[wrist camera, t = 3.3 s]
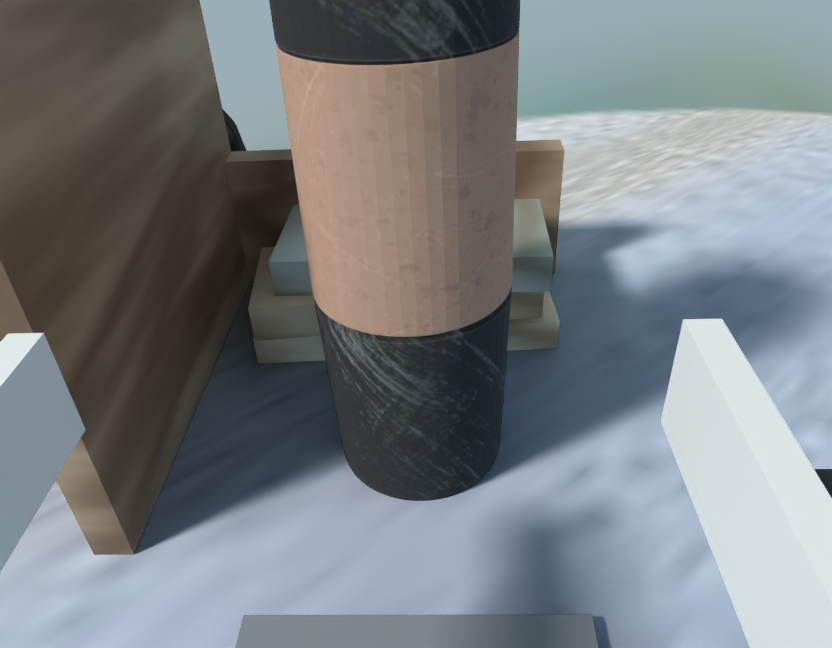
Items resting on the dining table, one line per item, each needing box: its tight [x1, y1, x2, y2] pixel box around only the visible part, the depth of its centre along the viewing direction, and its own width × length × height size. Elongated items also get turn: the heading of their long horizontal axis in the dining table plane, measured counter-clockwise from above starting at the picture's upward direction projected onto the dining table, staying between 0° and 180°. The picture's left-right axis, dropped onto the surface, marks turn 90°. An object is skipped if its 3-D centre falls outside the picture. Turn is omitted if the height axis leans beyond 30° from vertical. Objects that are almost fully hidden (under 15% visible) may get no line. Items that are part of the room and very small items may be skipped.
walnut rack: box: [0, 0, 564, 554], centre depth 30 cm, size 21×22×20 cm
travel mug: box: [269, 0, 520, 500], centre depth 25 cm, size 8×8×20 cm
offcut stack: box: [248, 199, 560, 364], centre depth 38 cm, size 16×8×6 cm, turn 92°
